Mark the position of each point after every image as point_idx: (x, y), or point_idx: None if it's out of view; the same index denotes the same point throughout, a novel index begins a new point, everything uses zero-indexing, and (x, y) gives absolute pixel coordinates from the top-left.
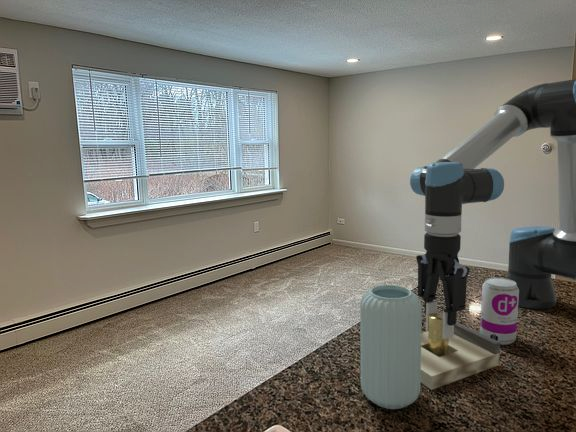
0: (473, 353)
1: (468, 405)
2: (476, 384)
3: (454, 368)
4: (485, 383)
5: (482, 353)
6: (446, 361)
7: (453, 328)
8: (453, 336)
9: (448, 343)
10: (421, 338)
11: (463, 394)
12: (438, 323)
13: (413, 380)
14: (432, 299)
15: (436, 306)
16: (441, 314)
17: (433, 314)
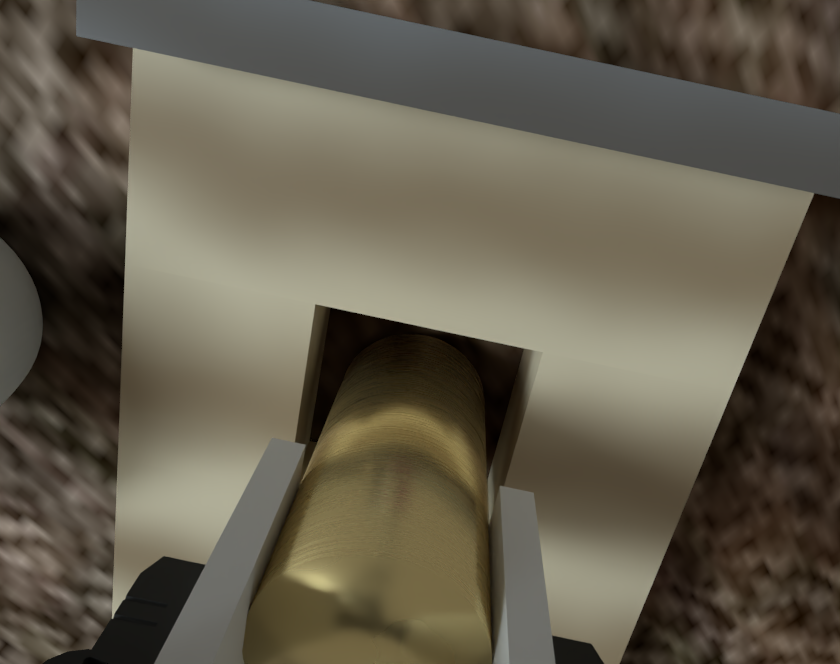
0: (659, 309)
1: (792, 652)
2: (750, 462)
3: (649, 590)
4: (793, 414)
5: (720, 250)
6: (560, 550)
7: (539, 556)
8: (532, 492)
9: (476, 435)
10: (203, 382)
11: (730, 592)
12: None
13: None
14: None
15: (222, 646)
16: (334, 583)
17: (275, 650)
